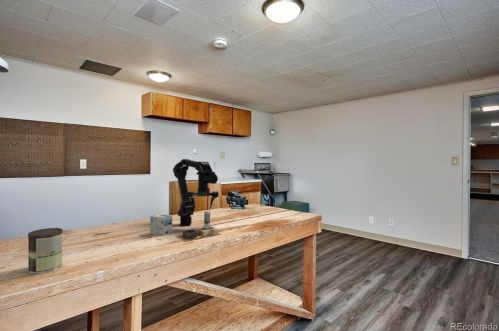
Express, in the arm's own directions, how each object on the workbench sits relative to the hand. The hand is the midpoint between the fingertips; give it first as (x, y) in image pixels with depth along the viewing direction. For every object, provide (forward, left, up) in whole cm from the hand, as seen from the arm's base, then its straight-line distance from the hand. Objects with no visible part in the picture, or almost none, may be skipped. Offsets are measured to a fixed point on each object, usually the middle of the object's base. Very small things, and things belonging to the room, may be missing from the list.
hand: (202, 208), depth 152 cm
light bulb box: (-22, -8, -13) cm, 27 cm away
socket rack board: (-1, -14, -13) cm, 19 cm away
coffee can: (-54, -51, -13) cm, 76 cm away
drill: (+3, -11, -12) cm, 17 cm away
